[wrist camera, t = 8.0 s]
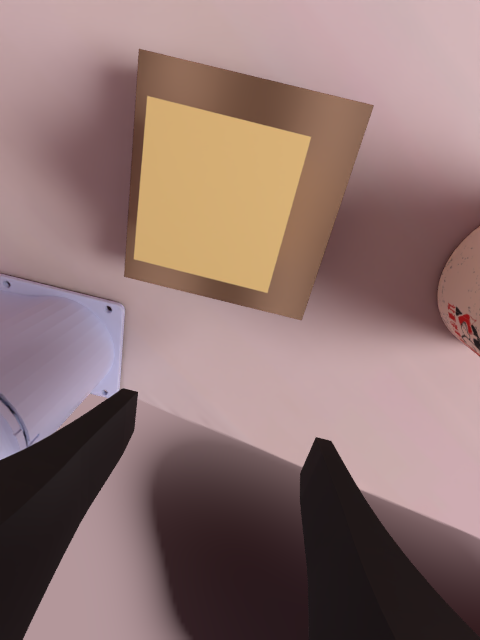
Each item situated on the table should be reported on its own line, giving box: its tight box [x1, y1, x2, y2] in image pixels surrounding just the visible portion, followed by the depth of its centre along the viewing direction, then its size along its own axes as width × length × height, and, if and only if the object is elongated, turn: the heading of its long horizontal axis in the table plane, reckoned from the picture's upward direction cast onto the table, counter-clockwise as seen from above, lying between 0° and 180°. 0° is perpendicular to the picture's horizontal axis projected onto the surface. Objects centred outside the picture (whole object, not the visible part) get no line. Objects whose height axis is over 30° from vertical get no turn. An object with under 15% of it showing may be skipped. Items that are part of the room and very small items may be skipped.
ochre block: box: [134, 96, 311, 293], centre depth 12 cm, size 5×5×5 cm
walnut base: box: [124, 49, 374, 320], centre depth 16 cm, size 10×10×3 cm
